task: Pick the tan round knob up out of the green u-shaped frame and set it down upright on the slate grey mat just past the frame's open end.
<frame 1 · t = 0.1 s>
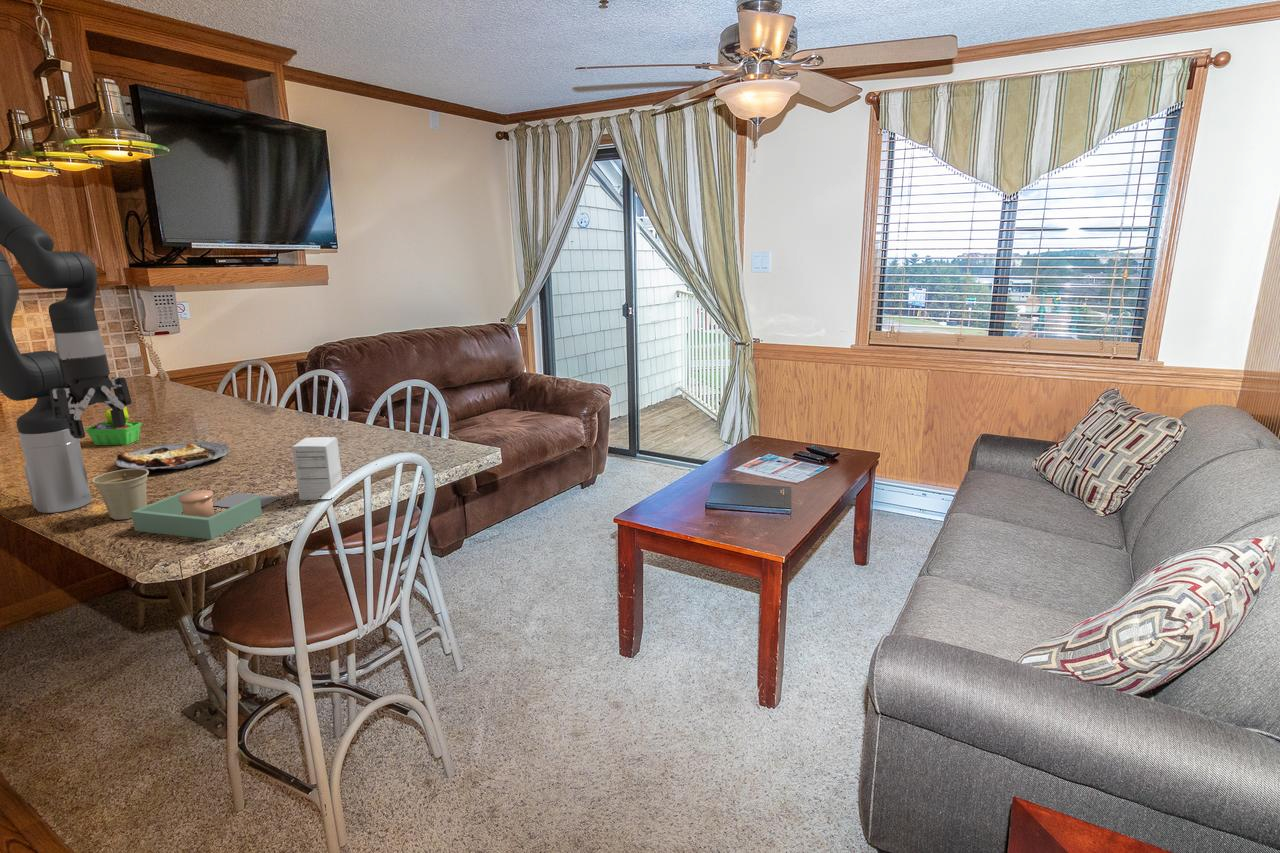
hand: (100, 432, 139), 17 cm above the breakfast bar, tool pointing down, fingers open, 8 cm apart
slate mat: (245, 501, 149), on the breakfast bar
food plate: (174, 462, 177), on the breakfast bar
supplement box: (321, 495, 154), on the breakfast bar
tan round knob: (198, 508, 137), in the green u-shaped frame
green u-shaped frame: (200, 522, 137), on the breakfast bar
fruit basket: (118, 442, 194), on the breakfast bar
flower pot: (128, 515, 141), on the breakfast bar
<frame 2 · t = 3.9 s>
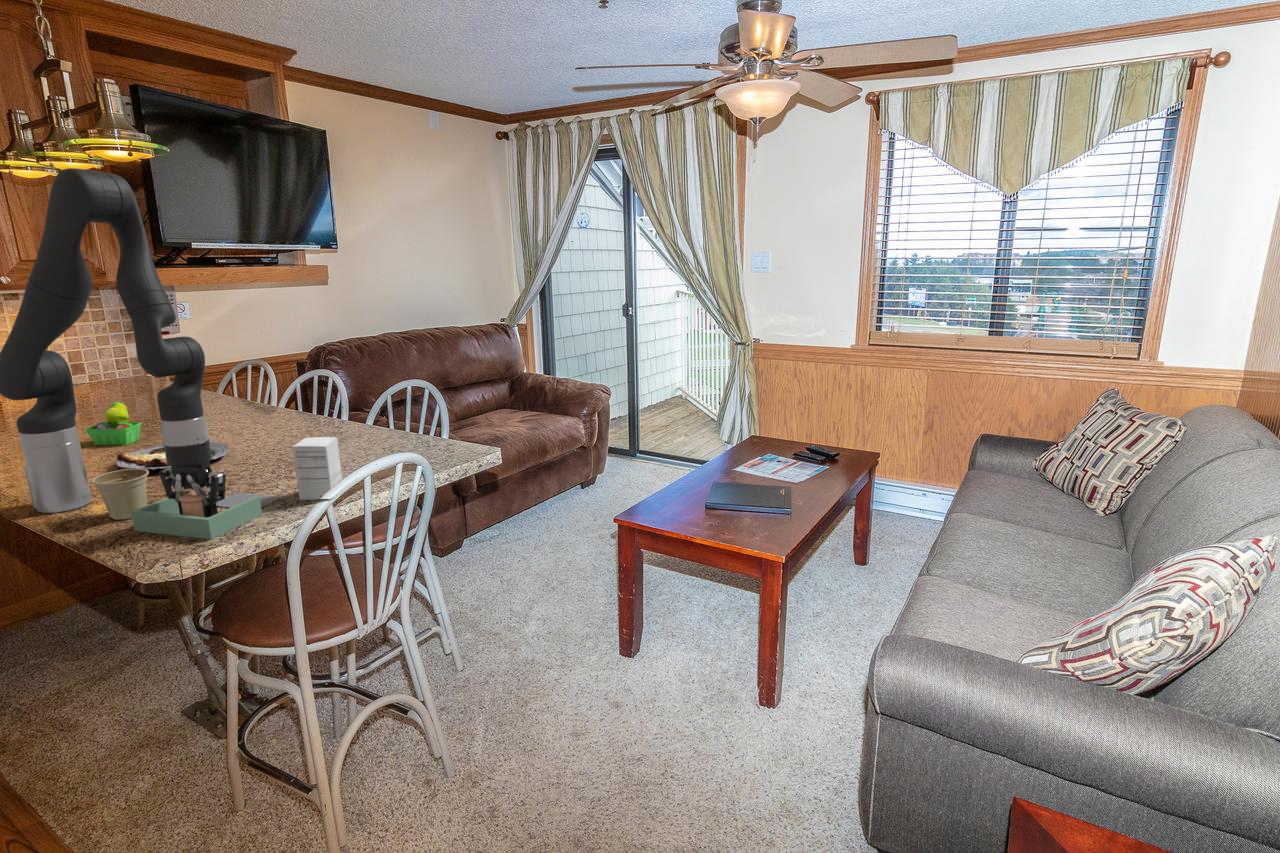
hand: (199, 519, 137), 1 cm above the breakfast bar, tool pointing down, fingers closed on tan round knob, 5 cm apart
tan round knob: (197, 508, 137), in the green u-shaped frame, touching gripper
everything else where it was.
when the fingers open (2 cm above the breakfast bar, at t = 10.0 s): tan round knob drops 1 cm, resting on slate mat.
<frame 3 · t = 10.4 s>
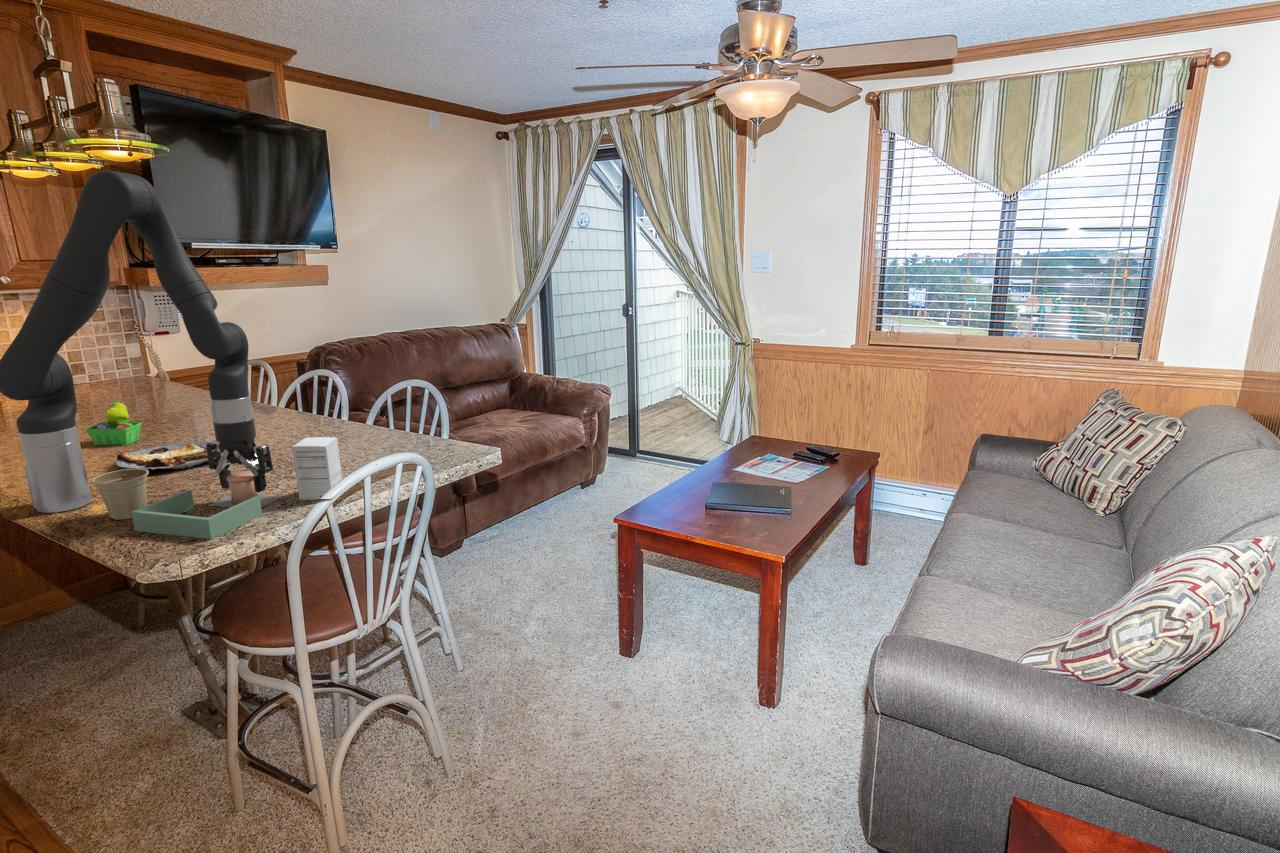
hand: (244, 489, 148), 3 cm above the breakfast bar, tool pointing down, fingers open, 8 cm apart
tan round knob: (243, 488, 148), resting on slate mat
everything else where it was.
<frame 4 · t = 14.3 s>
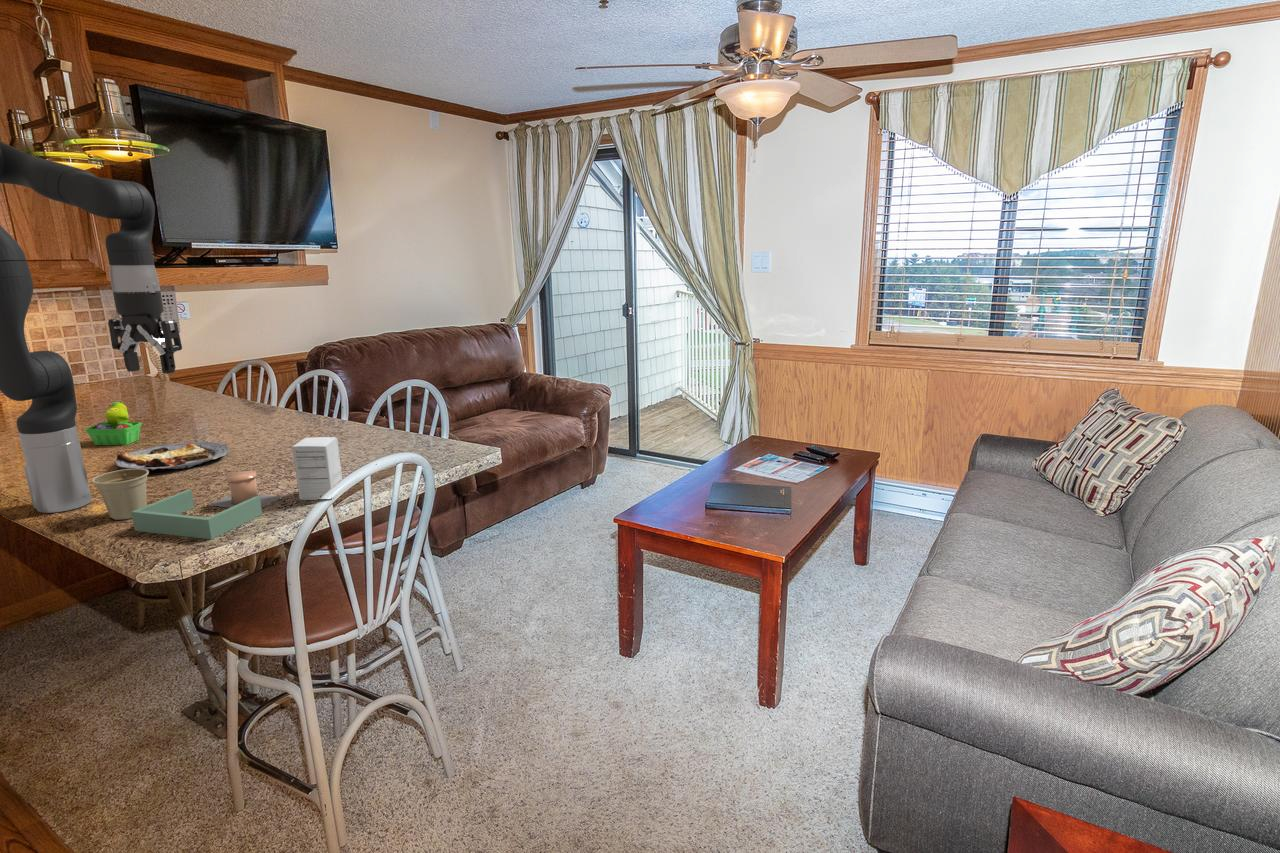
hand: (151, 372, 135), 30 cm above the breakfast bar, tool pointing down, fingers open, 8 cm apart
nothing on the breakfast bar moved.
at the end: tan round knob inside the target area (0.2 cm from its centre), resting on slate mat; tan round knob tilted 1°; the gripper is holding nothing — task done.
